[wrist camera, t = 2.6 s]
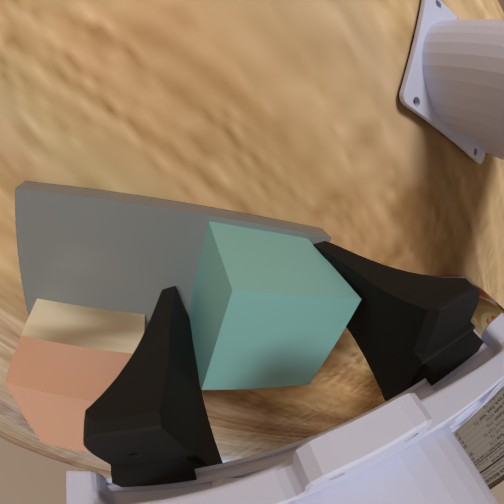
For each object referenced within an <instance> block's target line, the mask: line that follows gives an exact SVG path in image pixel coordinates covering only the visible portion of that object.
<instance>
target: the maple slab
mask: <svg viewBox="0 0 504 504" xmlns="http://www.w3.org/2000/svg"><path fill="white" fill-rule="evenodd" d="M144 328H145V314H138V313H129V312H121V311H113V310H106V309H98V308H92V307H85V306H78V305H72V304H66V303H60V302H54V301H49V300H43V299H38V298H37V300H36V302H35V304H34V306H33V309H32V311H31V313H30V315H29V318H28V320H27V322H26V325H25V327H24V330H23V332H22V335H23V336H27V337H32V338H37V339H41V340H46V341H51V342H57V343H62V344H68V345H74V346H80V347H86V348H93V349H100V350H107V351H115V352H124V353H134V351H135V350H136V348H137V346H138V344H139V342H140V340H141V338H142V336H143V334H144Z"/></svg>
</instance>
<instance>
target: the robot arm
mask: <svg viewBox="0 0 504 504" xmlns="http://www.w3.org/2000/svg"><path fill="white" fill-rule="evenodd" d="M399 98H400V101H401V103H402V104H403V105H404V106H405V107H407V108H408V109H410V110H411V111H413V112H414V113H416V114H417V115H418V116H420V117H421V118H423V119H424V120H425V121H427V122H428V123H429V124H431V125H432V126H433V127H435V128H436V129H437V130H439V131H440V132H441V133H442V134H444V135H445V136H446V137H447V138H449V139H450V140H451V141H452V142H453V143H455V144H456V145H457V146H458V147H459V148H460V149H462V150H463V151H464V152H465V153H466V154H467V155H468V156H469V157H471V158H472V159H473V160H474V161H475V162H476V163H479V164H481V163H482V162H483V160H484V157H485V154H486V153H488V154H491V155H493V156H495V157H498V158H500V159H502V160H504V20H490V19H459V18H458V17H457V16H456V15H455V14H454V13H453V12H452V11H451V10H450V9H449V8H448V7H447V6H446V5H445V4H444V3H443V2H442V1H441V0H422V2H421V7H420V12H419V17H418V22H417V26H416V31H415V35H414V40H413V44H412V48H411V52H410V56H409V60H408V64H407V68H406V71H405V75H404V79H403V82H402V86H401V89H400V93H399ZM413 100H415V104H414V103H413ZM313 246H314V247H315V248H316V249H317V250H318V251H319V252H320V253H321V254H322V256H323V257H324V258H325V259H326V260H328V262H329V263H330V264H331V265H332V266H333V267H334V268H335V269H336V270H337V272H338V273H339V274H340V275H341V276H342V277H343V278H344V280H345V281H346V282H347V283H348V284H349V285H350V286H351V288H352V289H353V290H354V291H355V292H356V293H357V294H358V296H359V297H360V298H361V301H360V303H359V305H358V307H357V308H356V310H355V312H354V314H353V315H352V317H351V319H350V321H349V322H348V324H347V326H346V327H347V328H348V330H349V331H350V333H351V334H352V335H353V337H354V339H355V340H356V342H357V344H358V346H359V347H360V349H361V351H362V353H363V354H364V356H365V358H366V360H367V362H368V364H369V366H370V368H371V370H372V372H373V374H374V376H375V378H376V381H377V383H378V385H379V387H380V389H381V392H382V394H383V397H384V399H385V401H386V402H384V403H382V404H381V405H379V406H377V407H375V408H373V409H371V410H369V411H367V412H365V413H363V414H361V415H359V416H357V417H355V418H353V419H350V420H348V421H346V422H344V423H342V424H339V425H337V426H335V427H333V428H330V429H328V430H325V431H323V432H321V433H318V434H316V435H313V436H310V437H308V438H305V439H303V440H300V441H297V442H294V443H291V444H289V445H286V446H283V447H280V448H277V449H273V450H270V451H267V452H264V453H260V454H257V455H253V456H250V457H246V458H242V459H238V460H234V461H230V462H226V463H222V460H221V457H220V455H219V452H218V449H217V446H216V443H215V440H214V437H213V433H212V430H211V427H210V424H209V420H208V416H207V413H206V409H205V405H204V401H203V397H202V393H201V389H200V383H199V376H198V368H197V363H196V357H195V351H194V345H193V339H192V331H191V324H190V318H189V316H188V314H187V311H186V309H185V307H184V304H183V302H182V300H181V297H180V295H179V293H178V290H177V288H176V286H173V287H169V288H166V289H163V290H162V291H161V293H160V296H159V298H158V301H157V304H156V306H155V309H154V311H153V314H152V316H151V319H150V321H149V323H148V326H147V328H146V330H145V332H144V334H143V336H142V338H141V340H140V342H139V344H138V346H137V348H136V350H135V351H134V353H133V355H132V356H131V358H130V359H129V361H128V362H127V364H126V365H125V367H124V368H123V369H122V371H121V372H120V374H119V375H118V376H117V378H116V379H115V380H114V381H113V382H112V384H111V385H110V386H109V387H108V388H107V389H106V391H105V392H104V393H103V394H102V395H101V396H100V397H99V398H98V399H97V400H96V401H95V402H94V403H93V404H92V405H91V406H90V407H89V408H87V409H86V410H85V417H84V433H83V444H84V446H85V447H86V449H87V450H88V451H90V452H91V453H92V454H94V455H95V456H97V457H99V458H100V459H102V460H104V461H105V462H107V463H109V464H110V465H111V476H112V477H109V478H106V477H104V476H103V475H101V474H99V473H97V472H93V471H84V470H83V471H82V470H67V471H66V494H67V504H498V502H497V501H496V499H495V497H494V496H493V494H492V492H491V491H490V489H489V487H488V486H487V484H486V482H485V481H484V479H483V478H482V476H481V474H480V473H479V471H478V470H477V468H476V467H475V465H474V463H473V462H472V460H471V459H470V457H469V456H468V454H467V453H466V451H465V450H464V448H463V447H462V445H461V444H460V442H459V441H458V439H457V438H456V436H455V435H454V434H453V432H455V431H456V430H457V429H458V428H459V427H461V426H462V425H463V424H464V423H465V422H466V421H467V420H469V419H470V418H471V417H472V416H473V415H474V414H475V413H476V412H477V411H479V410H480V409H481V408H482V407H483V406H484V405H485V404H486V403H487V402H488V401H489V400H490V399H491V398H492V397H493V396H494V395H495V394H496V393H497V392H498V391H499V390H500V389H501V388H502V387H503V386H504V314H503V313H500V314H499V315H498V316H497V317H496V318H494V319H493V320H492V321H491V322H490V323H489V324H488V325H487V327H486V328H485V330H484V332H483V334H482V337H481V338H480V337H479V336H478V335H477V334H476V333H475V332H474V331H473V330H474V329H475V326H474V325H473V323H472V322H471V319H472V317H473V314H474V312H475V310H476V307H477V305H478V302H479V296H480V294H479V290H478V289H477V288H476V287H475V286H474V285H473V284H471V283H470V282H469V281H468V280H467V279H465V278H443V277H434V276H427V275H420V274H416V273H411V272H406V271H402V270H399V269H395V268H392V267H388V266H385V265H382V264H379V263H377V262H374V261H371V260H369V259H366V258H364V257H362V256H359V255H357V254H355V253H352V252H350V251H348V250H346V249H343V248H341V247H339V246H337V245H334V244H332V243H329V242H327V241H323V242H319V243H316V244H313Z"/></svg>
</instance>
